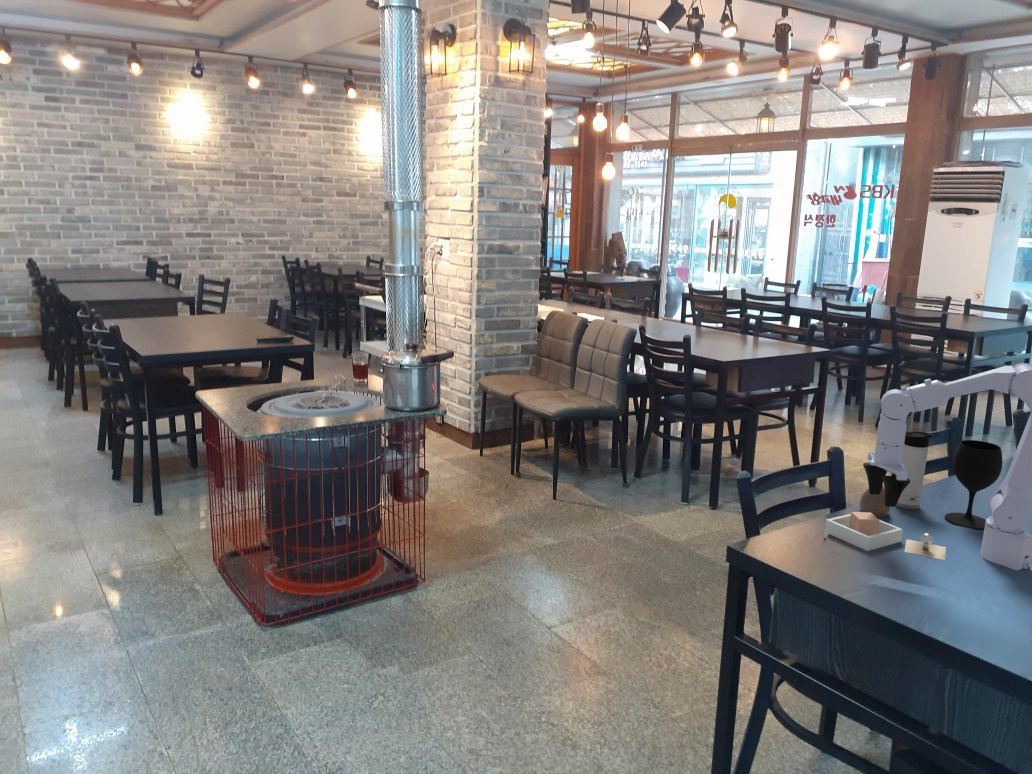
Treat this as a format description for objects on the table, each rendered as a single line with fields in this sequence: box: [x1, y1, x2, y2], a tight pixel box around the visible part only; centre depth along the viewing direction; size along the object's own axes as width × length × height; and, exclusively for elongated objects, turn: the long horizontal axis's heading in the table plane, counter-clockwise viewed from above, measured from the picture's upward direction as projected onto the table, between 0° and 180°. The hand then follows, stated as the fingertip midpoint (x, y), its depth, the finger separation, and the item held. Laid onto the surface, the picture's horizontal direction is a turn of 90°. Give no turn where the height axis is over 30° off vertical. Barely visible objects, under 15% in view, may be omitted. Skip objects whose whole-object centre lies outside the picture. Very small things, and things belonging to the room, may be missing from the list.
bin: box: [823, 513, 903, 552], centre depth 183 cm, size 12×12×4 cm
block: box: [849, 511, 880, 536], centre depth 183 cm, size 4×4×6 cm
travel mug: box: [895, 431, 933, 510], centre depth 206 cm, size 6×7×20 cm
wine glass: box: [943, 439, 1003, 531], centre depth 196 cm, size 10×10×20 cm
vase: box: [859, 484, 891, 518], centre depth 198 cm, size 7×7×9 cm
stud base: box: [904, 533, 947, 561], centre depth 177 cm, size 8×8×5 cm
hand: (882, 500), depth 182 cm, fingers open, 7 cm apart
